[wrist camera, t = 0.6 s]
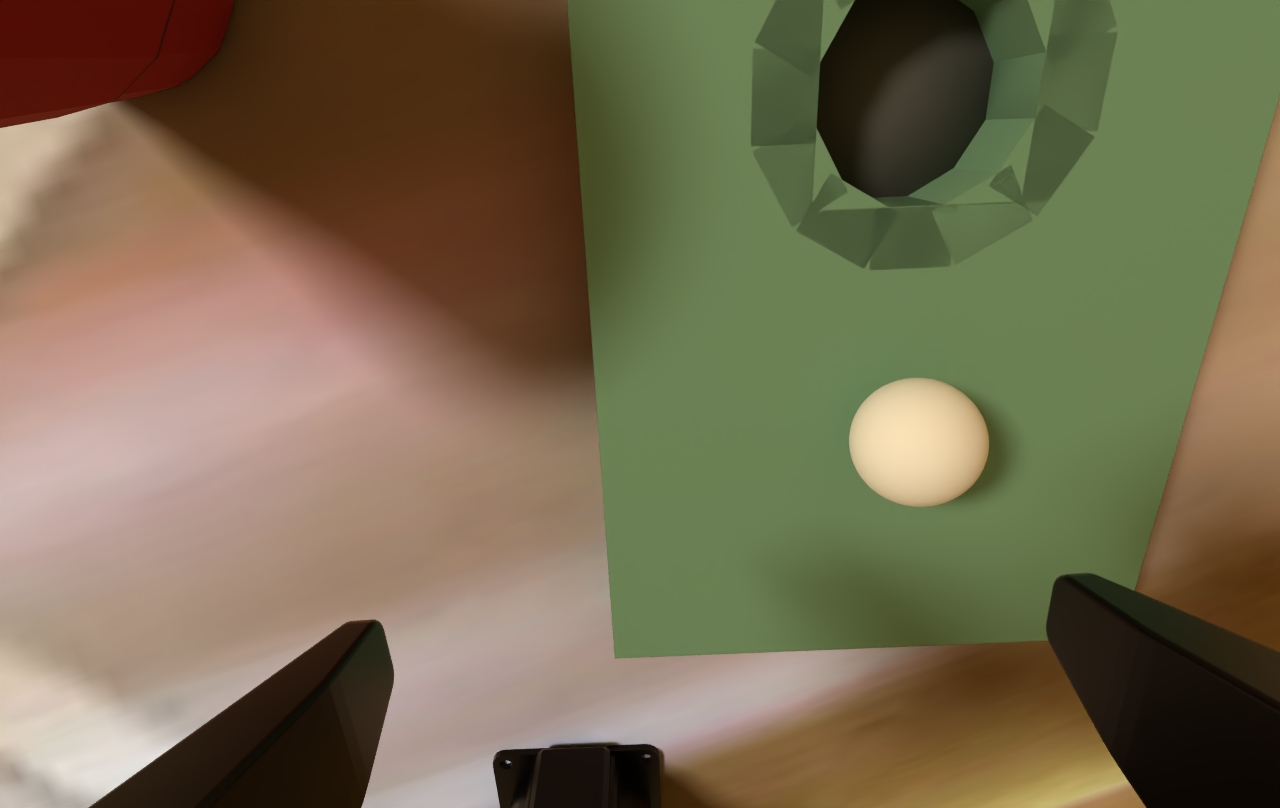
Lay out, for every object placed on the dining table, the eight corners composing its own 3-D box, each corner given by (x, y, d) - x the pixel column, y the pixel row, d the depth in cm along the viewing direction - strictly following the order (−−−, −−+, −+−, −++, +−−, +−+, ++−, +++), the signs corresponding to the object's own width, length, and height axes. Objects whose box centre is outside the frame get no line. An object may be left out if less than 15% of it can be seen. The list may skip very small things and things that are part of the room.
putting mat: (1072, 587, 23) (1120, 637, 21) (616, 606, 23) (615, 658, 21) (1244, -106, 16) (1351, -147, 13) (569, -73, 16) (558, -109, 13)
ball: (944, 466, 19) (1003, 529, 16) (830, 471, 19) (867, 535, 16) (960, 357, 17) (1028, 404, 14) (837, 363, 17) (879, 410, 14)
